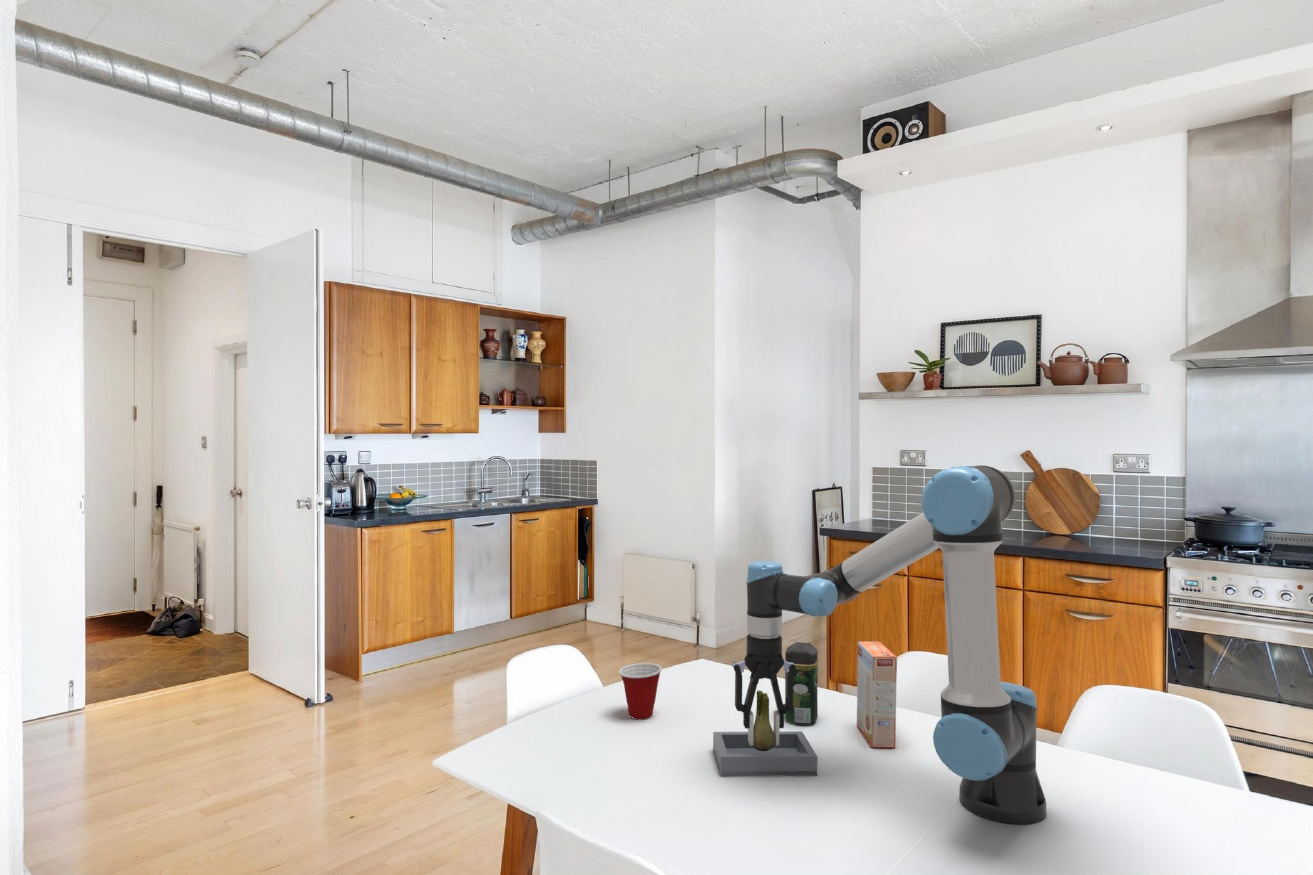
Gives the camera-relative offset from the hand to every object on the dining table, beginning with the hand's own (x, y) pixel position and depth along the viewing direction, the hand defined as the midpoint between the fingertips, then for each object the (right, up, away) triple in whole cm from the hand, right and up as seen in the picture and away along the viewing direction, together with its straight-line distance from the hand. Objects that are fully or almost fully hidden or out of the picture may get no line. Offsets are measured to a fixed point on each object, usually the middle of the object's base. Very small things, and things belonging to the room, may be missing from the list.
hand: (763, 742), depth 169 cm
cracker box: (+28, -5, +15) cm, 32 cm away
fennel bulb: (0, -1, 0) cm, 1 cm away
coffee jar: (+13, -5, +27) cm, 30 cm away
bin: (0, -4, 0) cm, 4 cm away
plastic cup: (-27, -4, +28) cm, 39 cm away
